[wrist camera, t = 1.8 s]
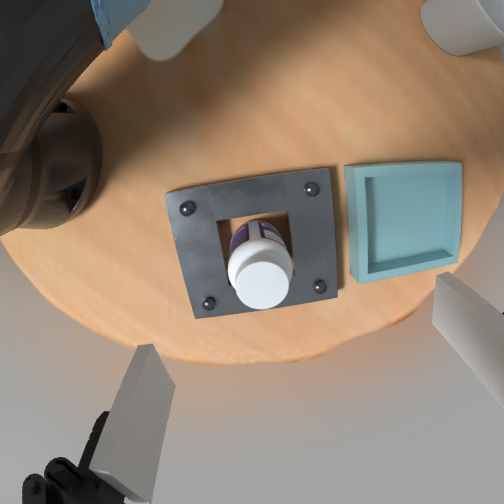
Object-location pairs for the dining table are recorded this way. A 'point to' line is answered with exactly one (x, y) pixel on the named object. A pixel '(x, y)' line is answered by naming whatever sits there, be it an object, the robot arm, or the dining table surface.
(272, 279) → the pill bottle
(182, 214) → the plate
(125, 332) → the dining table surface
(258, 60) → the dining table surface
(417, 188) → the tray
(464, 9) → the mug
